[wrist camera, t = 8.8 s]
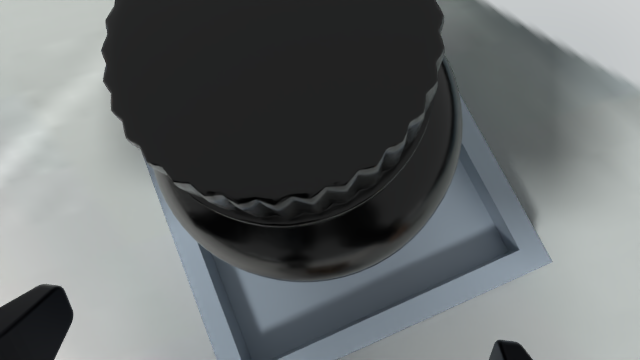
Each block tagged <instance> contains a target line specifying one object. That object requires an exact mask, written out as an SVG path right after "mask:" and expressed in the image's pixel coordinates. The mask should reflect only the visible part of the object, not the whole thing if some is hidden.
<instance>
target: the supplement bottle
mask: <svg viewBox="0 0 640 360" xmlns="http://www.w3.org/2000/svg"><path fill="white" fill-rule="evenodd" d="M443 23H444V15H443V13H442V11H441V9H440V7H439V6H438V4H437V2H436V0H115V5H114V7H113V9H112V10H111V12H110V13H109V15H108V17H107V19H106V29H107V37H106V39H105V41H104V44H103V47H102V50H101V51H102V55H103V58H104V59H105V62H106V67H105V72H104V77H103V82H104V84H105V85H106V87H107V89H108V90H109V91H110V93H111V111H112V112H113V113H114V114H115V115H116V116H117V117H118V118H119V120H121V121H122V122H123V128H124V132H125V136H126V139H127V140H128V141H129V142H130V143H131V144H133V145H134V146H136V147H137V148H139V149H141V151H142V154H143V156H144V158H145V160H146V162H147V163H148V164H149V166H151V167H152V168H153V169H154V173H155V176H156V179H157V182H158V185H159V188H160V190H161V192H162V194H163V197H164V199H165V201H166V203H167V205H168V206H169V208H170V209H171V211H172V213H173V214H174V216H175V217H176V219H177V220H178V221H179V222H180V224H181V225H182V226H183V228H184V229H185V230H186V231H187V232H188V233H189V234H190V235H191V236H192V237H193V239H194V240H196V241H197V242H198V243H199V244H200V245H201V246H202V247H204V248H205V249H206V250H207V251H209V252H210V253H212V254H213V255H215V256H216V257H217V258H219V259H221V260H223V261H224V262H226V263H228V264H230V265H232V266H234V267H236V268H238V269H241V270H243V271H246V272H248V273H252V274H255V275H258V276H261V277H265V278H270V279H275V280H280V281H289V282H318V281H327V280H333V279H338V278H342V277H346V276H349V275H353V274H356V273H359V272H361V271H362V270H363V271H364V270H366V269H368V268H370V267H373V266H375V265H377V264H378V263H380V262H382V261H384V260H385V259H387V258H389V257H390V256H392V255H393V254H394V253H396V252H397V251H399V250H400V249H402V248H403V247H404V246H405V245H406V244H407V243H408V242H410V241H411V240H412V239H413V238H414V237H415V236H416V235H417V234H418V233H419V232H420V231H421V230H422V229H423V227H424V226H425V225H426V224H427V222H428V221H429V220H430V218H431V217H432V216H433V215H434V213H435V212H436V210H437V208H438V207H439V205H440V203H441V202H442V200H443V199H444V197H445V195H446V193H447V191H448V188H449V186H450V184H451V182H452V179H453V176H454V174H455V171H456V168H457V164H458V160H459V156H460V151H461V143H462V131H463V119H462V106H461V100H460V95H459V90H458V86H457V83H456V80H455V76H454V74H453V71H452V69H451V66H450V64H449V62H448V60H447V58H446V56H445V54H444V53H445V50H444V45H443V41H442V38H441V35H440V34H441V31H442V27H443Z"/></svg>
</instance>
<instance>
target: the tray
mask: <svg viewBox="0 0 640 360" xmlns="http://www.w3.org/2000/svg"><path fill="white" fill-rule="evenodd" d="M459 95H460V93H459ZM460 100H461V106H462V119H463V131H462V143H461V151H460V156H459V160H458V164H457V168H456V171H455V174H454V176H453V179H452V182H451V184H450V186H449V188H448V191H447V193H446V195H445V197H444V199H443V200H442V202H441V203H440V205H439V207H438V208H437V210H436V212H435V213H434V215H433V216H432V217H431V218H430V220H429V221H428V222H427V224H426V225H425V226H424V227H423V229H422V230H421V231H420V232H419V233H418V234H417V235H416V236H415V237H414V238H413V239H412V240H411V241H410V242H408V243H407V244H406V245H405V246H404V247H403V248H402V249H400V250H399V251H397V252H396V253H394V254H393V255H392V256H390V257H389V258H387V259H385V260H384V261H382V262H380V263H378V264H377V265H375V266H373V267H370V268H368V269H366V270H364V271H363V270H362V271H361V272H359V273H356V274H353V275H349V276H346V277H342V278H338V279H333V280H327V281H318V282H289V281H280V280H275V279H270V278H265V277H261V276H258V275H255V274H252V273H248V272H246V271H243V270H241V269H238V268H236V267H234V266H232V265H230V264H228V263H226V262H224V261H223V260H221V259H219V258H217V257H216V256H215V255H213V254H212V253H210V252H209V251H207V250H206V249H205V248H204V247H202V246H201V245H200V244H199V243H198V242H197V241H196V240H194V239H193V237H192V236H191V235H190V234H189V233H188V232H187V231H186V230H185V229H184V228H183V226H182V225H181V224H180V222H179V221H178V220H177V219H176V217H175V216H174V214H173V213H172V211H171V209H170V208H169V206H168V205H167V203H166V201H165V199H164V197H163V194H162V192H161V190H160V188H159V185H158V182H157V179H156V176H155V173H154V169H153V168H152V167H151V166H149V164H148V163H147V162H146V160H145V162H146V165H147V168H148V170H149V173H150V176H151V179H152V182H153V184H154V187H155V190H156V193H157V195H158V198H159V201H160V204H161V206H162V209H163V212H164V215H165V217H166V220H167V223H168V226H169V229H170V231H171V234H172V237H173V240H174V242H175V245H176V248H177V251H178V253H179V256H180V259H181V262H182V265H183V267H184V270H185V273H186V276H187V278H188V281H189V284H190V287H191V289H192V292H193V295H194V298H195V300H196V303H197V306H198V309H199V312H200V314H201V317H202V320H203V323H204V325H205V328H206V331H207V334H208V336H209V339H210V342H211V345H212V348H213V350H214V353H215V356H216V359H217V360H337V359H339V358H341V357H343V356H346V355H348V354H350V353H352V352H355V351H357V350H359V349H361V348H363V347H366V346H368V345H370V344H372V343H374V342H377V341H379V340H381V339H383V338H385V337H388V336H390V335H392V334H394V333H397V332H399V331H401V330H403V329H405V328H408V327H410V326H412V325H414V324H416V323H419V322H421V321H423V320H425V319H427V318H430V317H432V316H434V315H436V314H439V313H441V312H443V311H445V310H447V309H450V308H452V307H454V306H456V305H458V304H461V303H463V302H465V301H467V300H469V299H472V298H474V297H476V296H478V295H480V294H483V293H485V292H487V291H489V290H492V289H494V288H496V287H498V286H500V285H503V284H505V283H507V282H509V281H511V280H514V279H516V278H518V277H520V276H522V275H525V274H527V273H529V272H531V271H534V270H536V269H538V268H540V267H542V266H545V265H547V264H549V263H551V262H553V261H552V260H551V258H550V256H549V254H548V252H547V251H546V249H545V247H544V245H543V243H542V242H541V240H540V238H539V236H538V234H537V232H536V231H535V229H534V227H533V225H532V223H531V222H530V220H529V218H528V216H527V214H526V213H525V211H524V209H523V207H522V205H521V204H520V202H519V200H518V198H517V196H516V195H515V193H514V191H513V189H512V187H511V186H510V184H509V182H508V180H507V178H506V177H505V175H504V173H503V171H502V169H501V167H500V166H499V164H498V162H497V160H496V158H495V157H494V155H493V153H492V151H491V149H490V148H489V146H488V144H487V142H486V140H485V139H484V137H483V135H482V133H481V131H480V130H479V128H478V126H477V124H476V122H475V121H474V119H473V117H472V115H471V113H470V112H469V110H468V108H467V106H466V104H465V102H464V101H463V99H462V97H461V95H460ZM143 157H144V156H143ZM144 159H145V158H144Z"/></svg>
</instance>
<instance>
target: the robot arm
mask: <svg viewBox="0 0 640 360" xmlns="http://www.w3.org/2000/svg"><path fill="white" fill-rule="evenodd" d="M72 320H73V310H72V307H71V305H70V303H69V300H68V298H67V295H66V293H65V290H64V289H63V288H62V287H61V286H57V285H49V284H42V285H39V286H37V287H35V288H33V289H32V290H30V291H28V292H26V293H25V294H23V295H21V296H19V297H18V298H16V299H14V300H12V301H11V302H9V303H7V304H5V305H3V306H2V307H0V360H54V359H55V357H56V355H57V353H58V350H59V348H60V346H61V344H62V342H63V340H64V338H65V336H66V334H67V332H68V330H69V327H70V325H71V323H72ZM489 360H533V359H532V358H531V357H530V355H529V354H528V353H527V352H526V350H525V349H524V348H523V347H522V345H520V344H519V343H517V342H513V341H505V340H498V341H496V342H495V344H494V347H493V350H492V352H491V355H490V358H489Z"/></svg>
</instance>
